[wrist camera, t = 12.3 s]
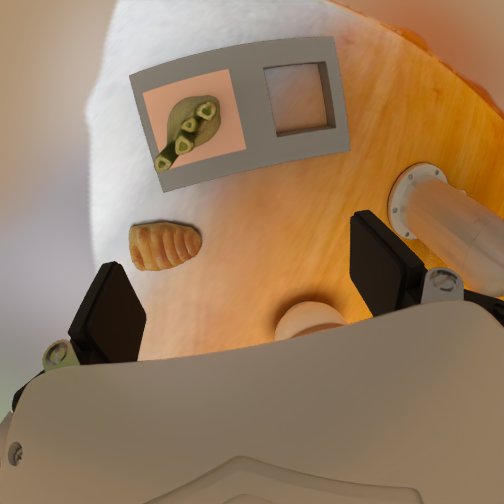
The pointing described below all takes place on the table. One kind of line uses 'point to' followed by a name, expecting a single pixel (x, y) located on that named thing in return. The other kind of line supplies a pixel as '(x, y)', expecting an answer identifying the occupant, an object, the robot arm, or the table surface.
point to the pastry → (162, 245)
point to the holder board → (240, 108)
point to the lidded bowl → (308, 320)
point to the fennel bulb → (188, 128)
